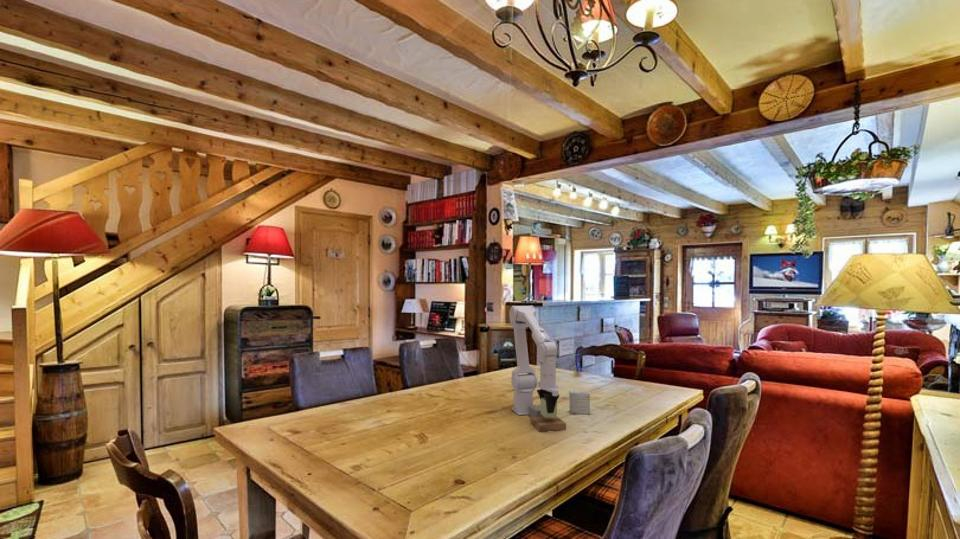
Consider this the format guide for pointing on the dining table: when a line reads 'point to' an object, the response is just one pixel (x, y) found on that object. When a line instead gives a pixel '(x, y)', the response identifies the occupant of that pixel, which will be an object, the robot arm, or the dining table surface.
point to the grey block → (535, 411)
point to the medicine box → (579, 402)
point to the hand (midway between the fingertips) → (547, 411)
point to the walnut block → (548, 424)
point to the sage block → (544, 409)
